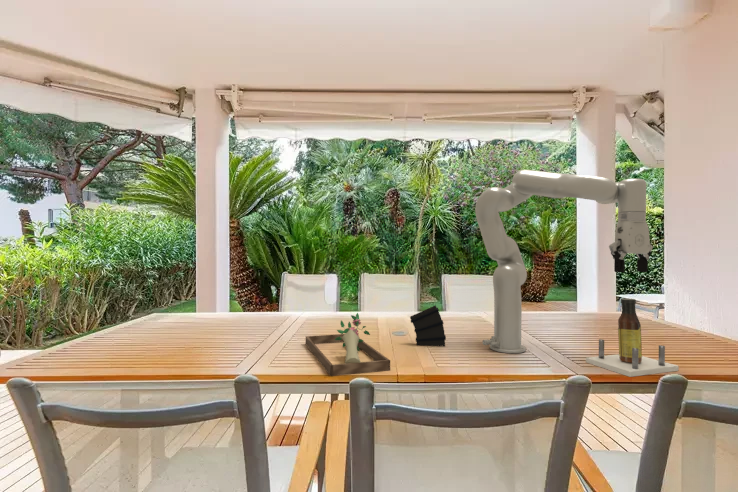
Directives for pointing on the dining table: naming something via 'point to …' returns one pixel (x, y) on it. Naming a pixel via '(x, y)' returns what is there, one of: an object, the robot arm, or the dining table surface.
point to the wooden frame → (348, 368)
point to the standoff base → (627, 367)
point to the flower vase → (351, 340)
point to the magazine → (429, 327)
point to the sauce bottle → (629, 331)
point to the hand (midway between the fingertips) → (630, 271)
